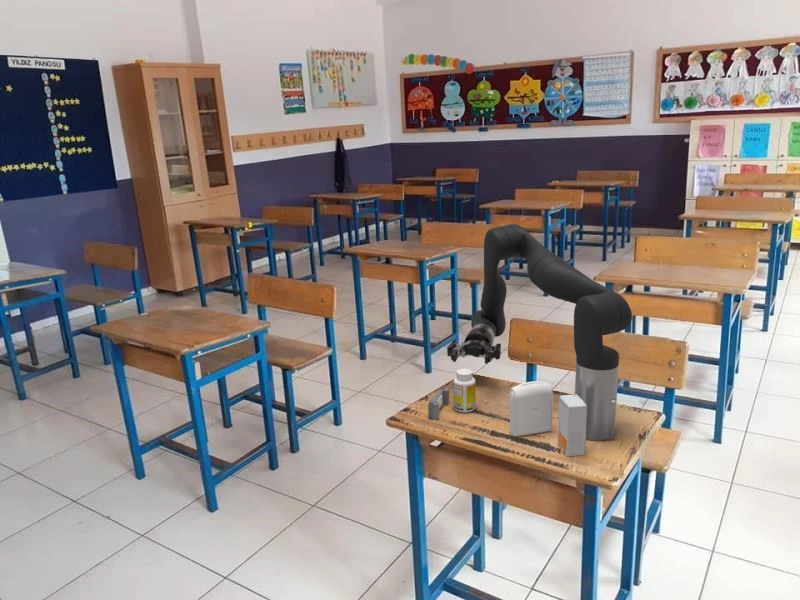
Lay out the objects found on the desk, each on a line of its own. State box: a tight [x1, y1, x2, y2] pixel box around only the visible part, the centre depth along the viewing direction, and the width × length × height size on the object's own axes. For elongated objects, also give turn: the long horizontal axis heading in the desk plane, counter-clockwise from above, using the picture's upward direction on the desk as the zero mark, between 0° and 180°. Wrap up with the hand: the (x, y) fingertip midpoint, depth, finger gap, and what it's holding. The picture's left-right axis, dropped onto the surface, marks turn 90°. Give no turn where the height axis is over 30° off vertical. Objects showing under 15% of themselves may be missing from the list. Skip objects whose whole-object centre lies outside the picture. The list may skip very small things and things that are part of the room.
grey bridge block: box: [427, 387, 450, 421], centre depth 160 cm, size 2×10×4 cm, turn 159°
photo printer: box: [509, 380, 554, 437], centre depth 147 cm, size 10×4×12 cm, turn 103°
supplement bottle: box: [453, 368, 477, 413], centre depth 160 cm, size 6×6×10 cm
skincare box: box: [557, 393, 587, 457], centre depth 138 cm, size 6×4×12 cm
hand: (469, 359), depth 164 cm, fingers open, 8 cm apart
